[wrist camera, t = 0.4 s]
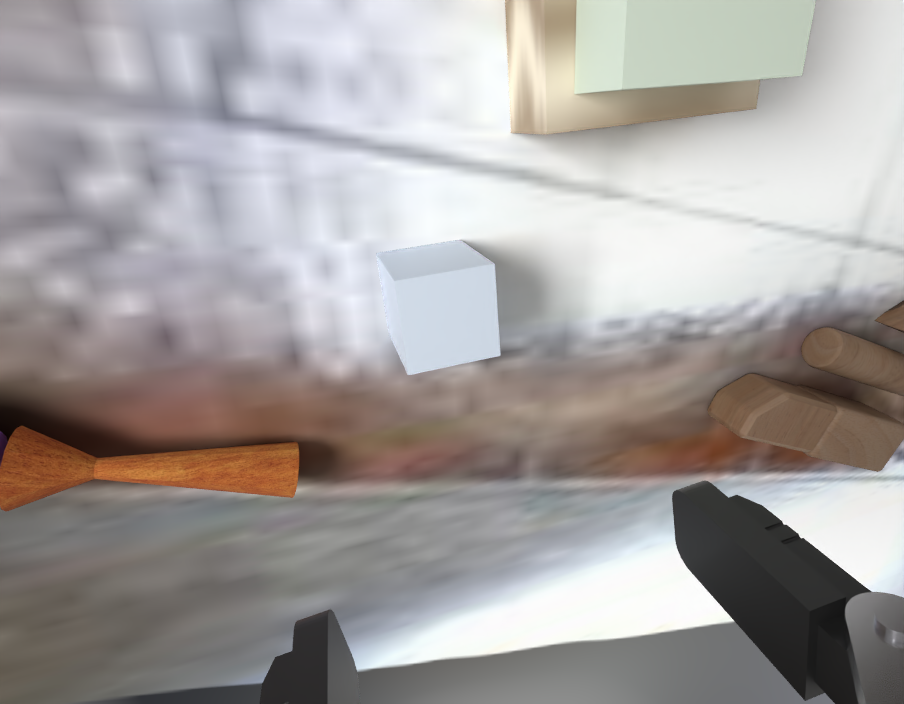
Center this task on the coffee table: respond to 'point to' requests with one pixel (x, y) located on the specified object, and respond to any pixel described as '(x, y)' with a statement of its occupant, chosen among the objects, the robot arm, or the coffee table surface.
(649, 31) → the tower top
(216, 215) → the coffee table surface
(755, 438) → the wooden block set
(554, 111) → the tower base
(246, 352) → the coffee table surface
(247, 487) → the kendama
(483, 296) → the blue block
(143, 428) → the coffee table surface
